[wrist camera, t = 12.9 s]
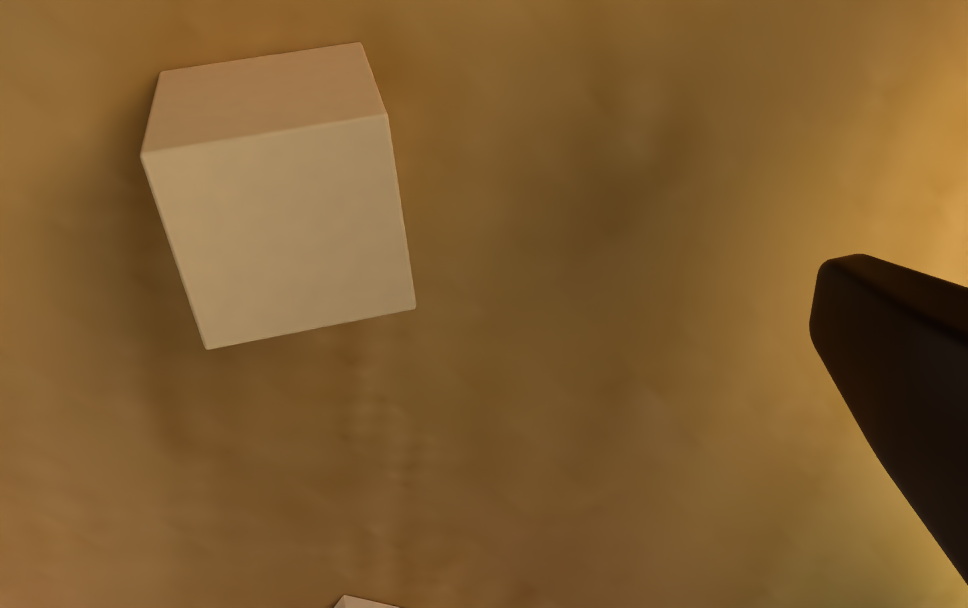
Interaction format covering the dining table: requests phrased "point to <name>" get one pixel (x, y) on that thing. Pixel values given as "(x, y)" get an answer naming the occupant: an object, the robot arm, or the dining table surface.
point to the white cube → (359, 603)
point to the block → (279, 193)
